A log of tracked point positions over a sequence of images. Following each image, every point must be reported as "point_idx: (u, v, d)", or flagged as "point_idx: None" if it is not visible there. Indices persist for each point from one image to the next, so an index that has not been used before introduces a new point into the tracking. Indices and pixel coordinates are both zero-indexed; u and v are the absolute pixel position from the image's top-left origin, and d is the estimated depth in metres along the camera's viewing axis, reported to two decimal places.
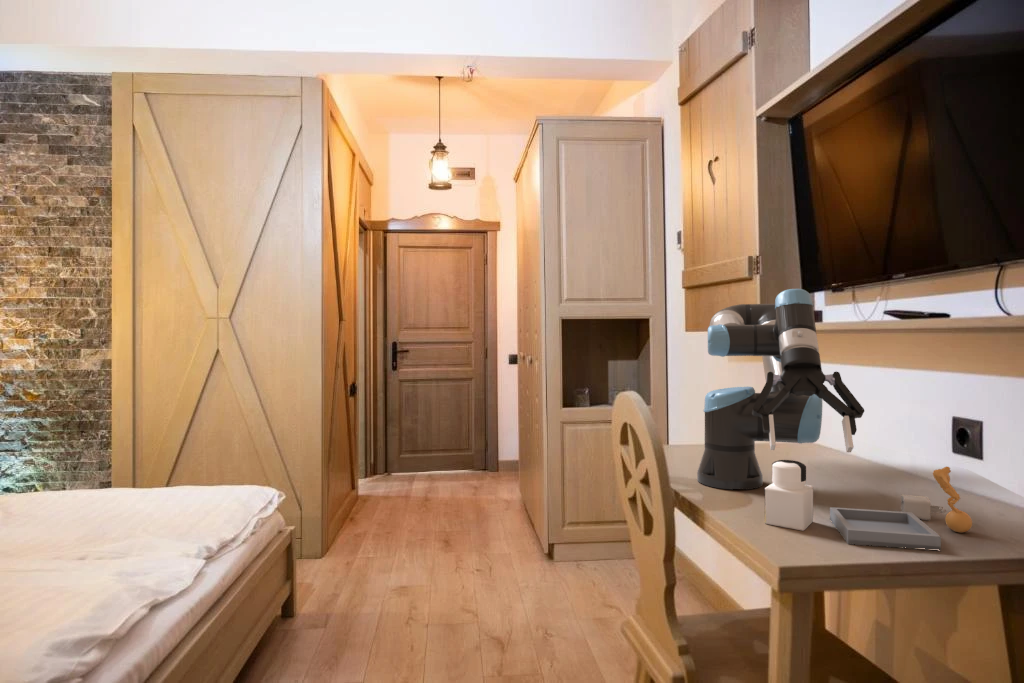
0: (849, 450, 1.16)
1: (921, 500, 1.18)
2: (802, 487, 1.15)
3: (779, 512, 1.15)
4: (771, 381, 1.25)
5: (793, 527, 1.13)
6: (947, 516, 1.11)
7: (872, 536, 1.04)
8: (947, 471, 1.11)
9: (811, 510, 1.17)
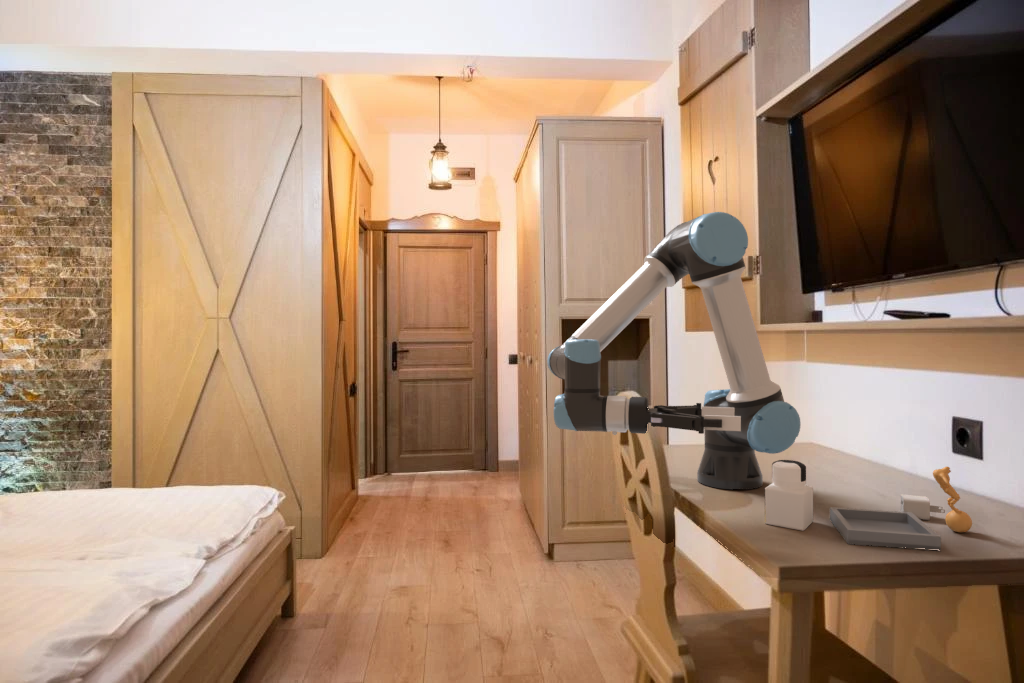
0: (740, 421, 1.13)
1: (920, 500, 1.18)
2: (802, 487, 1.15)
3: (779, 512, 1.15)
4: None
5: (793, 527, 1.13)
6: (947, 516, 1.11)
7: (872, 536, 1.04)
8: (947, 471, 1.11)
9: (811, 510, 1.17)
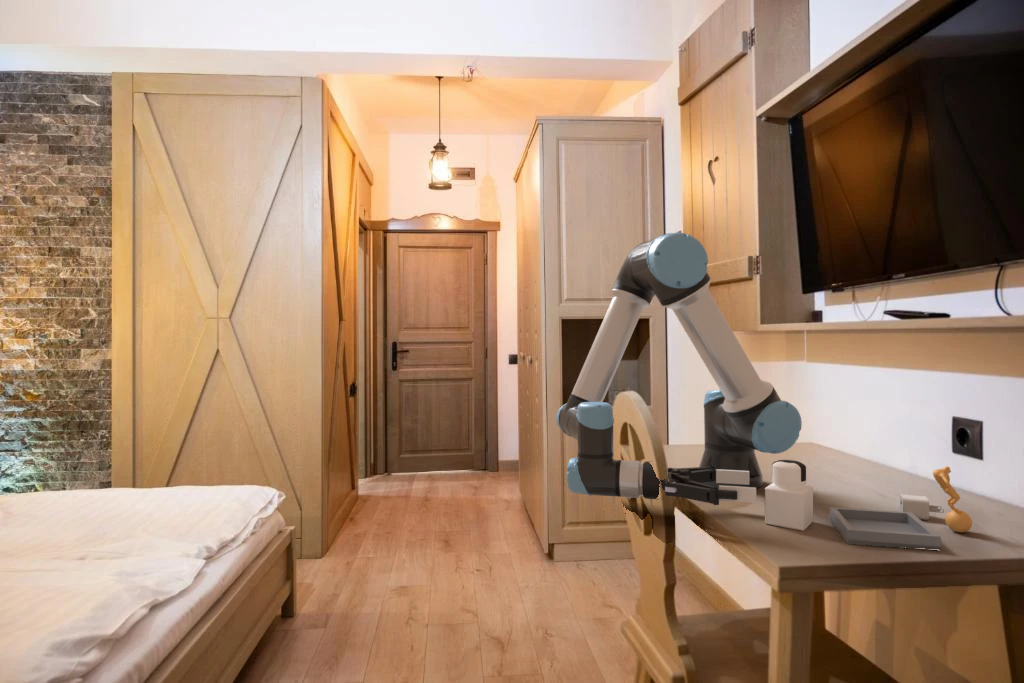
0: None
1: (920, 500, 1.18)
2: (802, 487, 1.15)
3: (779, 512, 1.15)
4: None
5: (793, 527, 1.13)
6: (947, 516, 1.11)
7: (872, 536, 1.04)
8: (947, 471, 1.11)
9: (811, 510, 1.17)
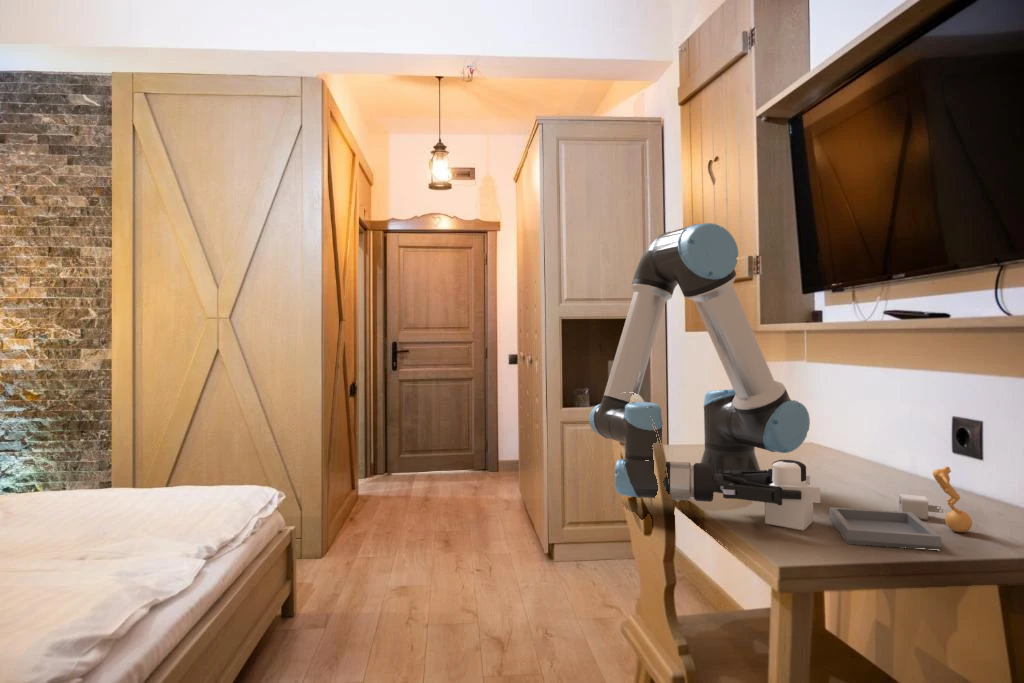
0: None
1: (919, 500, 1.19)
2: None
3: (779, 512, 1.15)
4: None
5: (793, 527, 1.13)
6: (947, 516, 1.11)
7: (872, 536, 1.04)
8: (947, 471, 1.11)
9: (811, 510, 1.17)
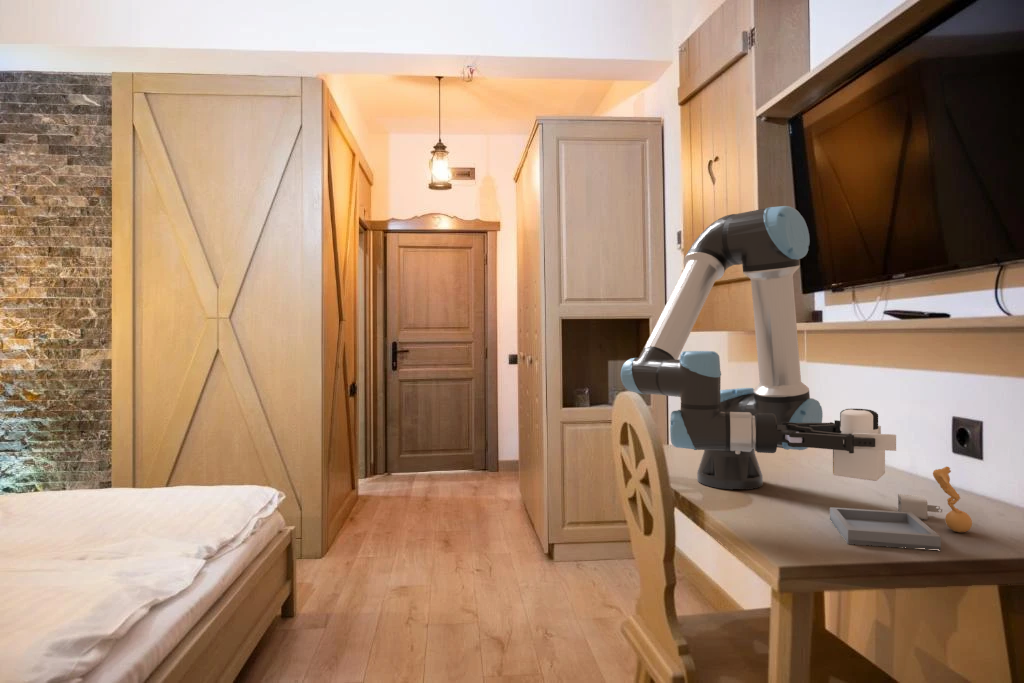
0: None
1: (918, 499, 1.19)
2: None
3: (849, 462, 1.08)
4: None
5: (865, 477, 1.06)
6: (947, 516, 1.11)
7: (872, 536, 1.04)
8: (947, 471, 1.11)
9: (883, 461, 1.09)
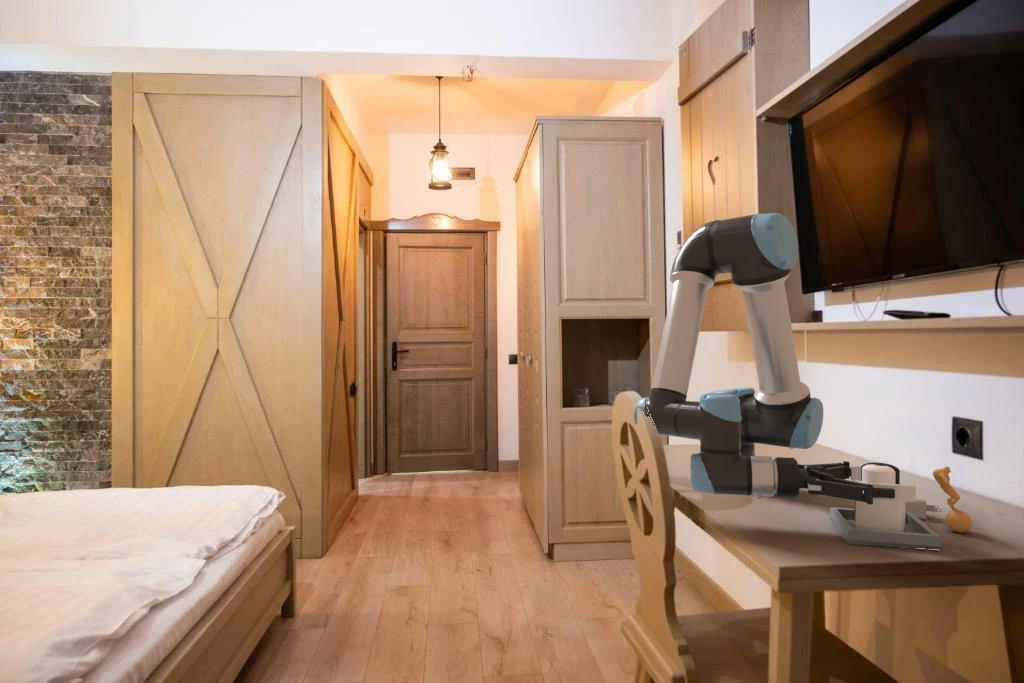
0: None
1: (917, 499, 1.19)
2: None
3: (871, 518, 1.08)
4: None
5: None
6: (947, 516, 1.11)
7: (872, 536, 1.04)
8: (947, 471, 1.11)
9: (904, 516, 1.10)
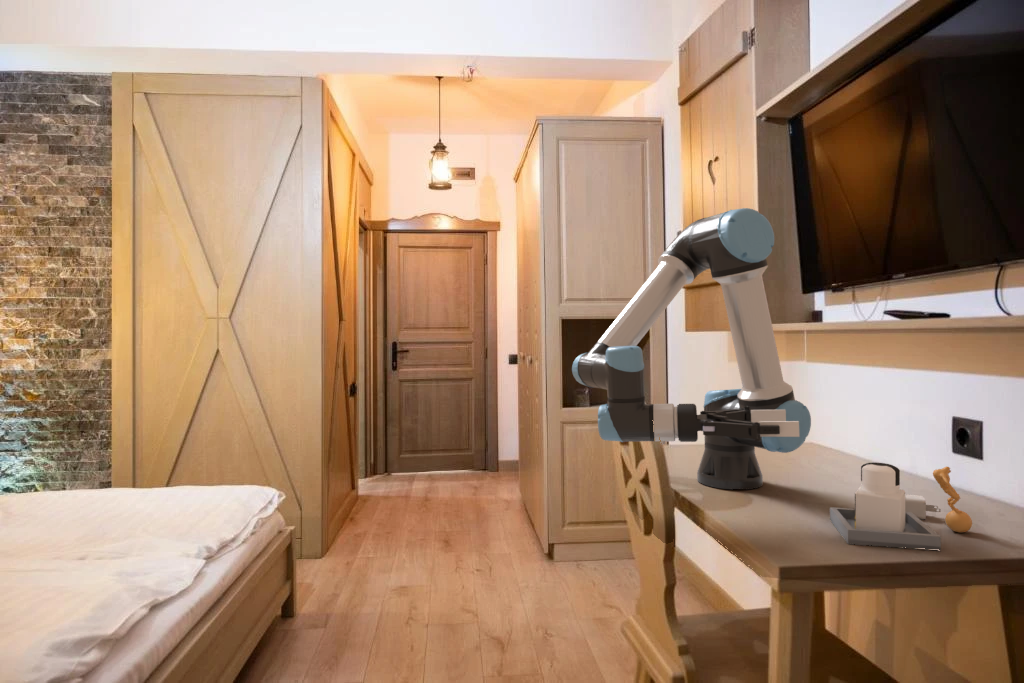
0: None
1: (916, 499, 1.19)
2: (896, 492, 1.08)
3: (871, 518, 1.08)
4: None
5: None
6: (947, 516, 1.11)
7: (872, 536, 1.04)
8: (947, 471, 1.11)
9: (904, 516, 1.10)
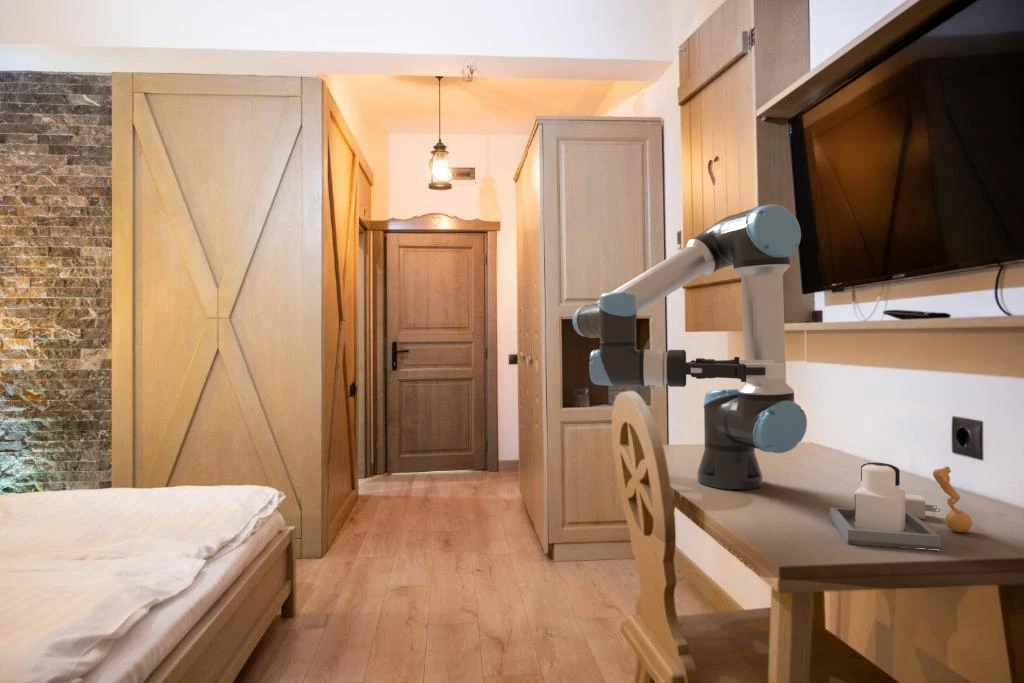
0: (784, 369, 1.11)
1: (916, 499, 1.19)
2: (896, 492, 1.08)
3: (871, 518, 1.08)
4: None
5: None
6: (947, 516, 1.11)
7: (872, 536, 1.04)
8: (947, 471, 1.11)
9: (904, 516, 1.10)
